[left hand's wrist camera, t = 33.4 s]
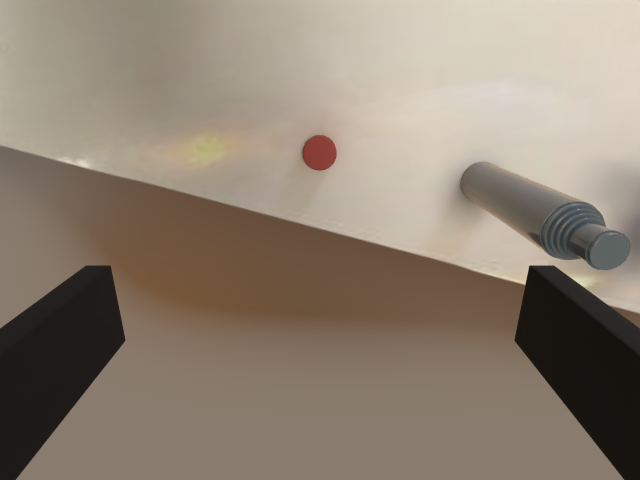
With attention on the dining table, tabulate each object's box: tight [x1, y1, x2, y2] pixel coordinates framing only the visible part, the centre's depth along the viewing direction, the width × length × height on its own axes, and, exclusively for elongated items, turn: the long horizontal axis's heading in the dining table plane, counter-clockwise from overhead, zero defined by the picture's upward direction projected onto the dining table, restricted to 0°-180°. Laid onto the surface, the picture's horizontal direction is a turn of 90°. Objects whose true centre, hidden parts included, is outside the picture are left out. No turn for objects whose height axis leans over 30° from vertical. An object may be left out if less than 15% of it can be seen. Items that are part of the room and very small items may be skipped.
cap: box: [303, 135, 336, 170], centre depth 46 cm, size 4×4×2 cm
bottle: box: [461, 162, 630, 270], centre depth 37 cm, size 5×5×23 cm
